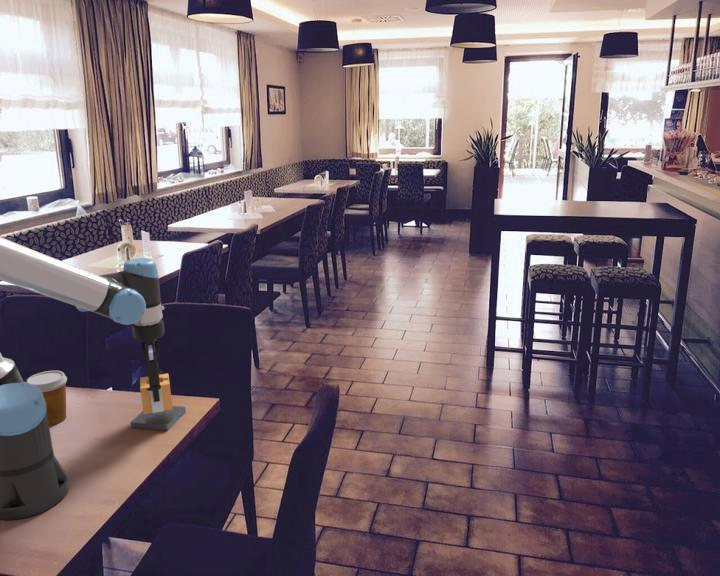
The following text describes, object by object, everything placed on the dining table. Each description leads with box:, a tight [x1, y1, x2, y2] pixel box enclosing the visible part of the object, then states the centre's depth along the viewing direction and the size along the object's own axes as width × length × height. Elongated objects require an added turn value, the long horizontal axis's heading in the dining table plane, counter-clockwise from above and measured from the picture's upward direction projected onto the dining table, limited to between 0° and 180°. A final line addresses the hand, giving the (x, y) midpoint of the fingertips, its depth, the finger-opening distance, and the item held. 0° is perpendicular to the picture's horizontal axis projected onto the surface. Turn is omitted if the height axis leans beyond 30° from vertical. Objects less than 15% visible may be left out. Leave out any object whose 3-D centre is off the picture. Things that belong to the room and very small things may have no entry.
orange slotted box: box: [139, 373, 173, 414], centre depth 154 cm, size 7×7×7 cm
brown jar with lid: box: [26, 370, 68, 426], centre depth 155 cm, size 10×10×12 cm
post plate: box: [130, 405, 187, 432], centre depth 154 cm, size 10×10×10 cm
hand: (157, 404), depth 154 cm, fingers closed on orange slotted box, 7 cm apart
